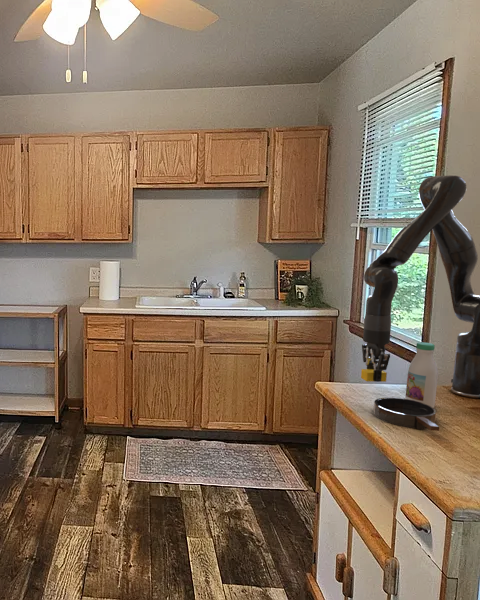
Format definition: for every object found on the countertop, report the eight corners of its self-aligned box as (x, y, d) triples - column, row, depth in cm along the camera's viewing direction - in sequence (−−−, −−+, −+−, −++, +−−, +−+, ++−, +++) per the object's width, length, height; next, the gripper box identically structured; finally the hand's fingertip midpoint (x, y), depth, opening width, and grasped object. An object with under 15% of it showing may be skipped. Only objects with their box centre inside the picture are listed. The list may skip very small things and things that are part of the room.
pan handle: (414, 427, 139) (416, 416, 138) (422, 428, 139) (423, 416, 138) (430, 438, 132) (431, 426, 132) (438, 438, 132) (439, 426, 131)
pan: (415, 408, 153) (416, 398, 153) (447, 428, 138) (448, 416, 138) (364, 407, 154) (365, 396, 154) (390, 427, 139) (391, 415, 139)
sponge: (379, 377, 164) (380, 369, 164) (386, 381, 160) (386, 372, 160) (360, 377, 165) (361, 369, 164) (366, 381, 161) (367, 372, 160)
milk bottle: (425, 401, 159) (431, 341, 156) (440, 410, 152) (446, 346, 149) (399, 401, 160) (405, 340, 157) (413, 409, 152) (419, 346, 149)
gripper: (401, 332, 153) (397, 386, 155) (378, 323, 167) (374, 372, 169) (375, 332, 153) (372, 386, 156) (354, 323, 167) (351, 372, 170)
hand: (373, 378), depth 162 cm, fingers closed on sponge, 4 cm apart
